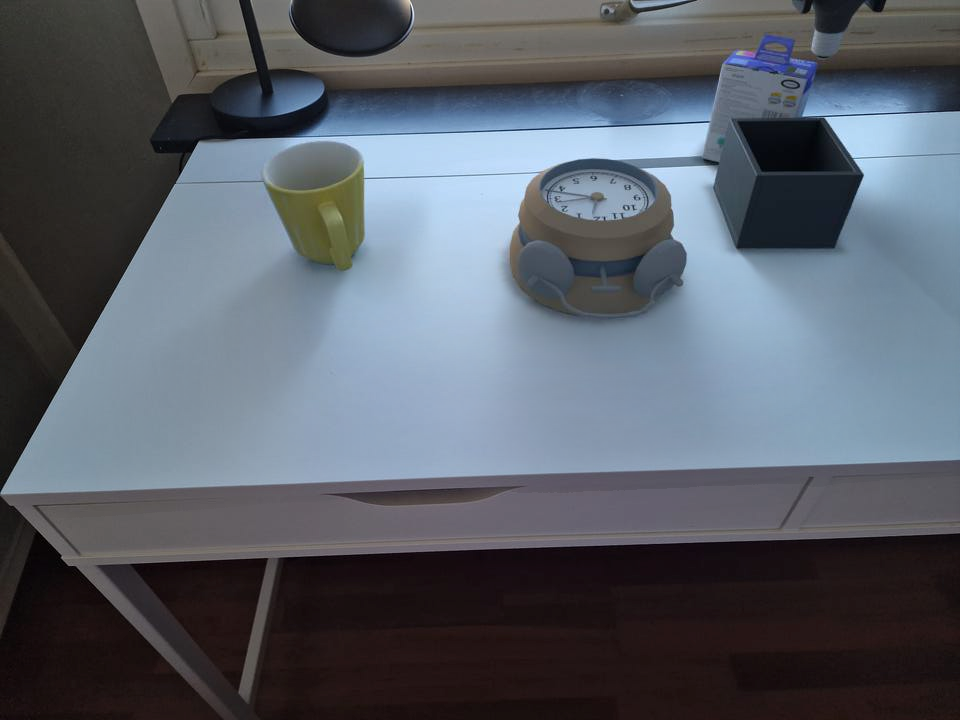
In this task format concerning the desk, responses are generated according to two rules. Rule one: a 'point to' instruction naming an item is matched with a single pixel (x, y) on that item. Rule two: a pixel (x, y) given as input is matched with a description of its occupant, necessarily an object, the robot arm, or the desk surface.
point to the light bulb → (831, 24)
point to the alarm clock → (596, 240)
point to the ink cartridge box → (758, 89)
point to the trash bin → (785, 183)
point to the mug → (319, 199)
